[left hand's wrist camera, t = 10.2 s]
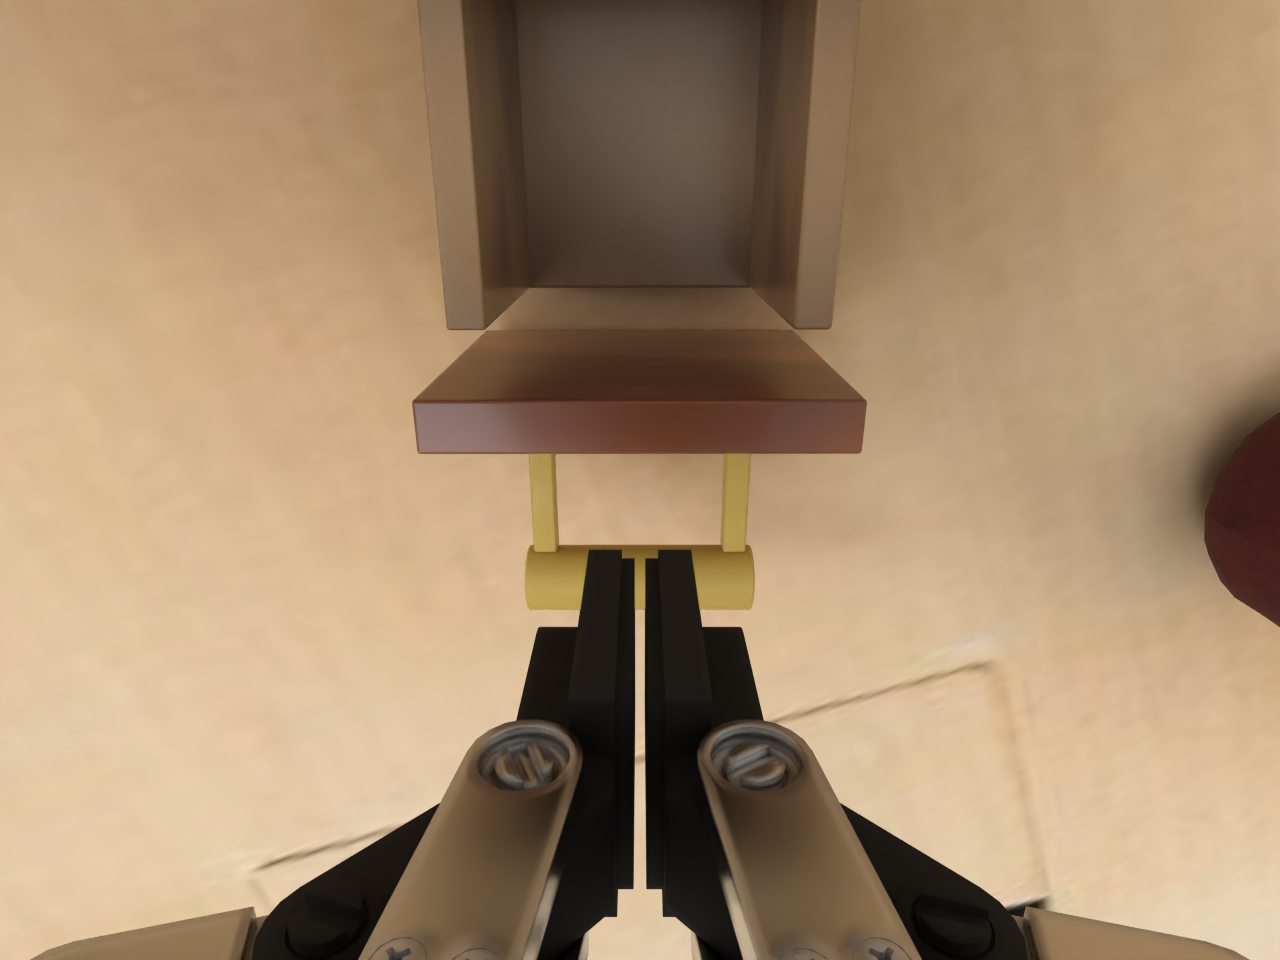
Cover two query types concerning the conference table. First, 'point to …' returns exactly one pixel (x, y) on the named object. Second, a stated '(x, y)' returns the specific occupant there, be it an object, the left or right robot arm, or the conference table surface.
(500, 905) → the left robot arm
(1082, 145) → the conference table surface
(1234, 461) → the dark maroon ball
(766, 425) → the drawer
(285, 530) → the conference table surface
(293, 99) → the conference table surface
